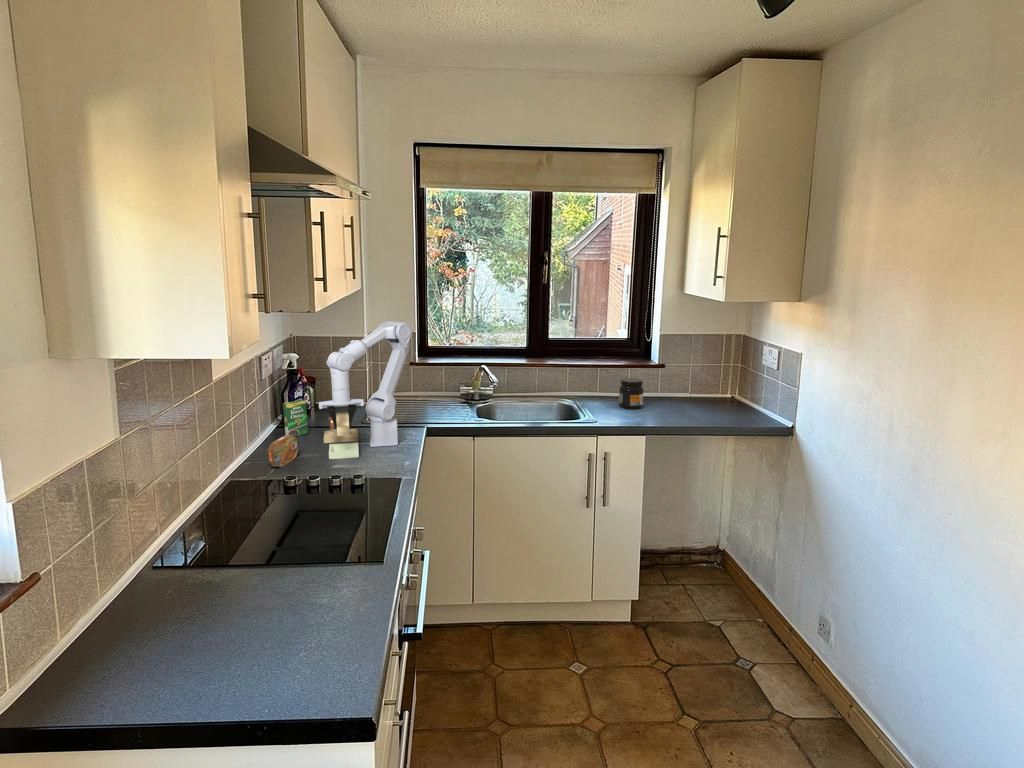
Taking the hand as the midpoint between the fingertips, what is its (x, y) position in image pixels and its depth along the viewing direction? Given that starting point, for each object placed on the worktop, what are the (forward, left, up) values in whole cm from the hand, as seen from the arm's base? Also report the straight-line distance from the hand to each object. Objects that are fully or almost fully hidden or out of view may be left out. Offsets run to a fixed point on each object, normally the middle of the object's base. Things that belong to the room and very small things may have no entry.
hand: (342, 427), depth 229 cm
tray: (0, 0, -9) cm, 9 cm away
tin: (+19, +5, -10) cm, 22 cm away
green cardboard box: (+17, -26, -9) cm, 32 cm away
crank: (+2, -22, -7) cm, 23 cm away
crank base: (+1, -19, -9) cm, 22 cm away
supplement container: (-121, -39, -9) cm, 128 cm away
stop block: (0, 0, -2) cm, 2 cm away
